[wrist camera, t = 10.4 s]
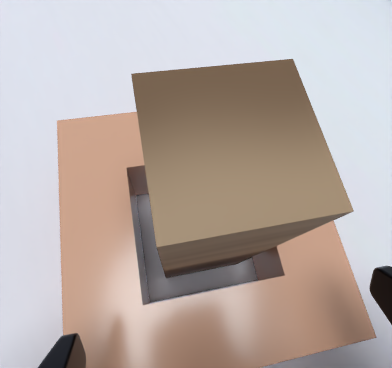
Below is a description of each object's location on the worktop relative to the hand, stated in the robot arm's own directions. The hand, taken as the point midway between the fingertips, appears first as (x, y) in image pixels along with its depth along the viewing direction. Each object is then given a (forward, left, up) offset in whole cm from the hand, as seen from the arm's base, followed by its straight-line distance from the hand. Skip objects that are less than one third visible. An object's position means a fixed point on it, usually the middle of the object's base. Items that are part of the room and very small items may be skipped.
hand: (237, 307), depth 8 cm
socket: (+4, 0, -7) cm, 8 cm away
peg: (+4, 0, -7) cm, 8 cm away
